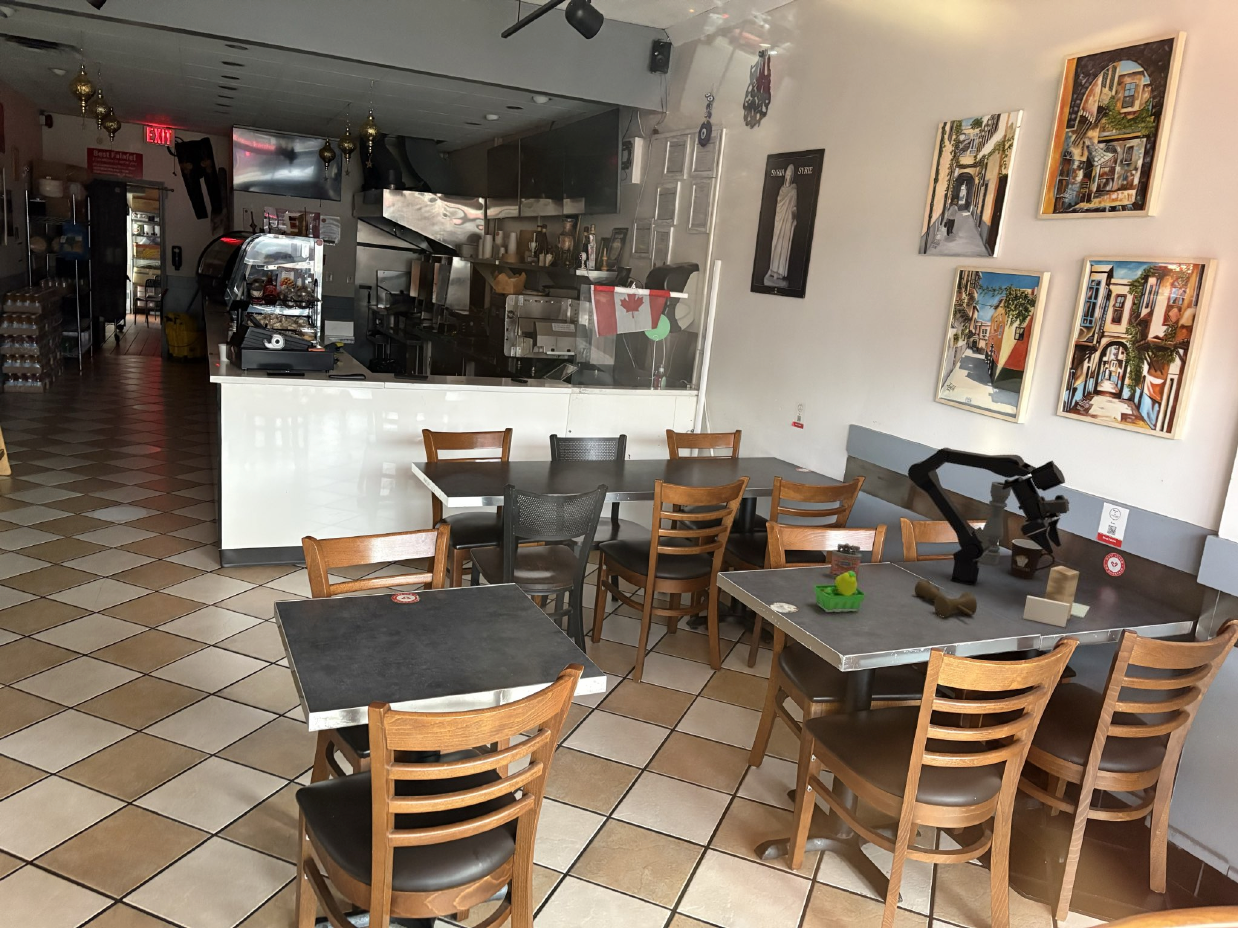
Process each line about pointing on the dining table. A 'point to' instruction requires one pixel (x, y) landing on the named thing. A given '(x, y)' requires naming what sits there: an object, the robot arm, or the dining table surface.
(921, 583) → the kendama
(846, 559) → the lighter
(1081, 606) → the display mat
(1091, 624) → the dining table surface
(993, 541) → the candle holder
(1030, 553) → the coffee mug
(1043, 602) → the screen
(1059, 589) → the tan wooden tall block
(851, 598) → the fruit basket
